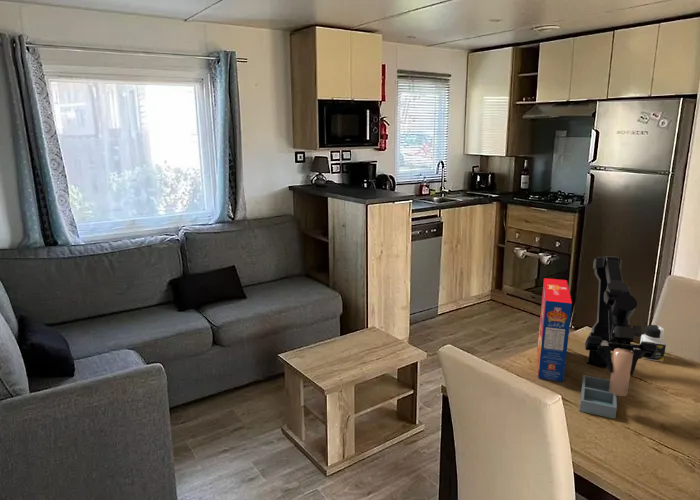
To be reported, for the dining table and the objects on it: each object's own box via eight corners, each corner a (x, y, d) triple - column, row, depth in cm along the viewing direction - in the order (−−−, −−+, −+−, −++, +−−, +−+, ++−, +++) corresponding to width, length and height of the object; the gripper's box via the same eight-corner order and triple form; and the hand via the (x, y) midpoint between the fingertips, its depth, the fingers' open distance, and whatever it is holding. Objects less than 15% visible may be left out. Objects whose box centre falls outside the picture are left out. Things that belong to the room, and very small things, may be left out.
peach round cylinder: (605, 390, 153) (610, 350, 150) (614, 386, 155) (620, 346, 152) (621, 397, 149) (627, 356, 146) (630, 393, 151) (636, 352, 148)
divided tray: (581, 384, 169) (583, 374, 168) (614, 390, 165) (615, 381, 164) (579, 410, 153) (580, 400, 152) (615, 418, 149) (616, 408, 148)
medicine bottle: (641, 358, 188) (645, 328, 186) (638, 351, 195) (642, 322, 192) (663, 362, 186) (668, 331, 183) (660, 354, 192) (664, 324, 189)
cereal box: (537, 346, 199) (544, 278, 193) (559, 349, 196) (566, 280, 190) (538, 378, 173) (545, 300, 167) (563, 382, 171) (572, 303, 164)
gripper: (590, 310, 153) (591, 359, 145) (660, 317, 147) (665, 369, 140) (584, 325, 162) (585, 372, 154) (650, 332, 157) (654, 381, 149)
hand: (621, 373), depth 149 cm, fingers closed on peach round cylinder, 5 cm apart
